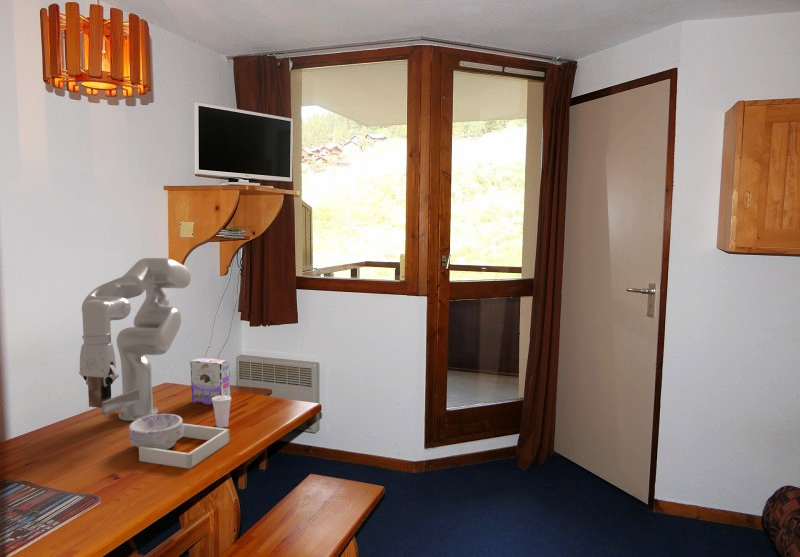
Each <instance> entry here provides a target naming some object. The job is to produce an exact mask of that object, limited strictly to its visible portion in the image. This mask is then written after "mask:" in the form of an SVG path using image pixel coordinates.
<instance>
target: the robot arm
mask: <svg viewBox="0 0 800 557" xmlns="http://www.w3.org/2000/svg"><path fill="white" fill-rule="evenodd" d="M191 280H192V274H191V272H190V269H189V268H188V267H187V266H186V265H184V264H182V263H180V262H179V261H177V260H175V259H172V258H167V257H166V258H165V257H143V258H141V259H139V260H138V261H137V262H135V264H134V265H133V266H131V268H129V270H127V271H126V273H124V274H123V275H122V276H121V277H118V278H116V279H112V280H110V281H108V282H105V283H103V284H100V285H99V286H97V287H95V288H94V289H93V290H92V291H91V292H89V294H87V296H85V298H84V300H83V302H82V304H81V313H82V334H83V335H82V339H83V343H82V344H81V348H80V354H79V373H78V374H79V375H80V376H81V377H82V378H83V380H84V381H85V384H86V385H87V386H88V377H97V378H101V379H102V383H103V386H102V399H106V398H108V397H111V398H112V385H113V383H114V382H115V381H116V379H118V378H119V377H120V374H119V372H118V371H117V366H116V365H117V362H116V355H115V349H114V345H113V343H112V333H111V331H112V330H111V329H112V328H111V321H121V320H123V319H125V318H127V317H128V316H129V315H130V314H131V310H132V304H131V302H130V300H128V299H133V298H135V297H139V296H140V295H142V294H143V293H144V292H145V299H144V301H143V303H142V304H141V306H140V307H139V309H138V311H137V312H136V314H135V316H134V319H133V326H134V327H133V326H132V327H131V326H129V327H126V328H124V329H121V330H120V332H118V334H117V337H116V346H117V350H118V354H119V358H120V366H121V367H120V369H121V386H122V387H121V388H122V389H121V391H122V394H124V393H127V392H130V391H132V390H135V389H139V401H138V402H136V403H133V404H131V405H128V406H126V407H124V408H121V409H120V412H119V413H118V418H119V420H121V421H123V422H124V421H127V422H134V421H136V420H138V419H140V418H143V417H146V416H150V415H157V414H158V413H159V410H158V408H157V407H155V406H154V404H153V403H154V402H153V400H154V399H153V381H152V380H153V375H152V364H151V362H150V359H149V358H148V356H162V355H164V354H166V353H167V352H168V350H169V349H170V347H171V346H172V344H173V342H174V340H175V338H176V336H177V334H178V332H179V330H180V328H181V326H182V325H181V324H182V315H181V311H180V310H179V308H176V307H174V306H170V299H169V298H168V296H167V295H166V293H165V292H164V291H163V289H185V288H187V287H188V286H189V285H190V283H191ZM106 378H107V379H108V380H107V381H106ZM87 395H88V394H87ZM88 397H89V395H88Z"/></svg>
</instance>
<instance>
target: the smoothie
mask: <svg viewBox="0 0 800 557" xmlns="http://www.w3.org/2000/svg"><path fill="white" fill-rule="evenodd" d="M231 402H232V396H231V395H230V396H228V395H223V385H221V395H220V396H215V397H213V398H212V403H213V405H212V406H213V412H214V417H215V418H214V419H215V424H216V428H223V429H225V428H227V427H228V426H229V417H230V410H231Z"/></svg>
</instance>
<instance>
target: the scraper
mask: <svg viewBox="0 0 800 557" xmlns="http://www.w3.org/2000/svg"><path fill="white" fill-rule="evenodd" d="M107 380H108V379H107V378H106V381H107ZM102 386H103V383H102V379H101V378H97V377H88V385H87V389H88V390H87V393H88V394H87V395H89V396H88V407H91V408H97V409H101V415H102V416H107V415H109V414H111V413H114V412H117V411H119V410H121V408H124V407H126V406H128V405H131V404H133V403H136V402H138V401H139V389H135V390H132V391H130V392H127V393H124V394H123V393H122V394H119V395H117V396H114V397H112V396H111V397H108V398H106V399H102Z"/></svg>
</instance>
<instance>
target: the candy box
mask: <svg viewBox="0 0 800 557" xmlns="http://www.w3.org/2000/svg"><path fill="white" fill-rule="evenodd" d="M189 362H190V364H189V365H190V381H191V382H190V383H191V385H190V386H191V402H192V403H194V404H195V403H197V404H203V405H212V406H213V403H212V398H213V397H215V396H220V395H221V385H223V395H228V396H231V381H230V380H231V378H230V376H231V375H230V374H231V373H230V370H231V369H230V360H229V359H218V358H210V357H209V358H207V357H197V358H193V359H192V360H189Z"/></svg>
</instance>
